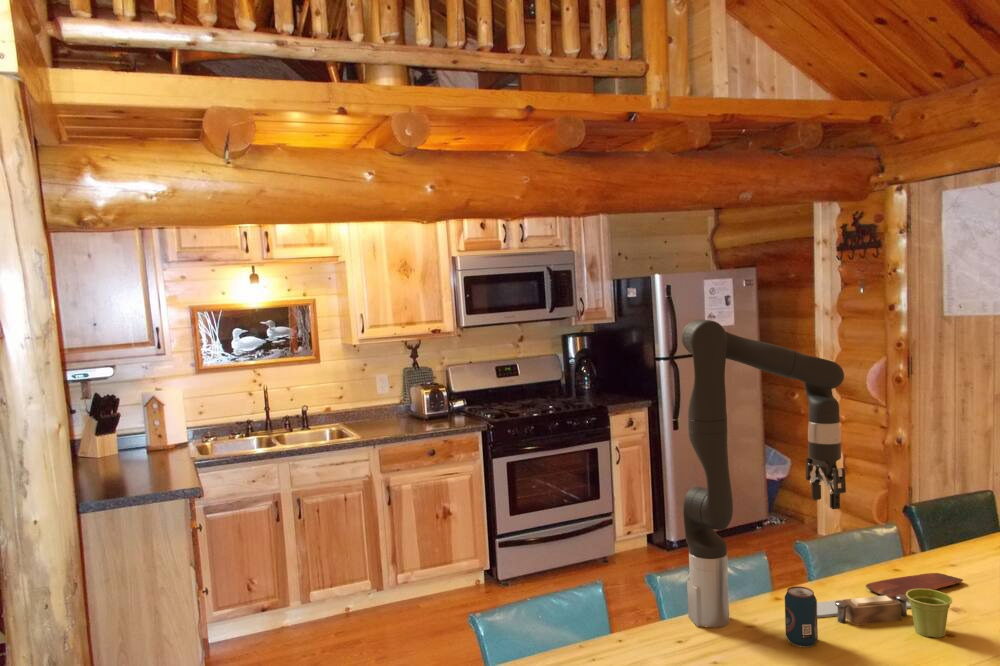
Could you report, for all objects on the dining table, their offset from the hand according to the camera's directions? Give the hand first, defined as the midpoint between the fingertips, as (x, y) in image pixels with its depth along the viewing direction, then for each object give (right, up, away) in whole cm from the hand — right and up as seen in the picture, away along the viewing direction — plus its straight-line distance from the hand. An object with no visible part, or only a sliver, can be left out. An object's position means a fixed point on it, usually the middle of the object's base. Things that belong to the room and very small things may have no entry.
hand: (825, 503), depth 184 cm
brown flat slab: (+30, -25, +13) cm, 42 cm away
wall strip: (+10, -27, +4) cm, 29 cm away
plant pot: (+20, -28, -11) cm, 36 cm away
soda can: (-11, -29, -13) cm, 34 cm away
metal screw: (+2, -28, -4) cm, 28 cm away
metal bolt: (+18, -27, -2) cm, 33 cm away
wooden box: (+10, -28, -3) cm, 30 cm away
